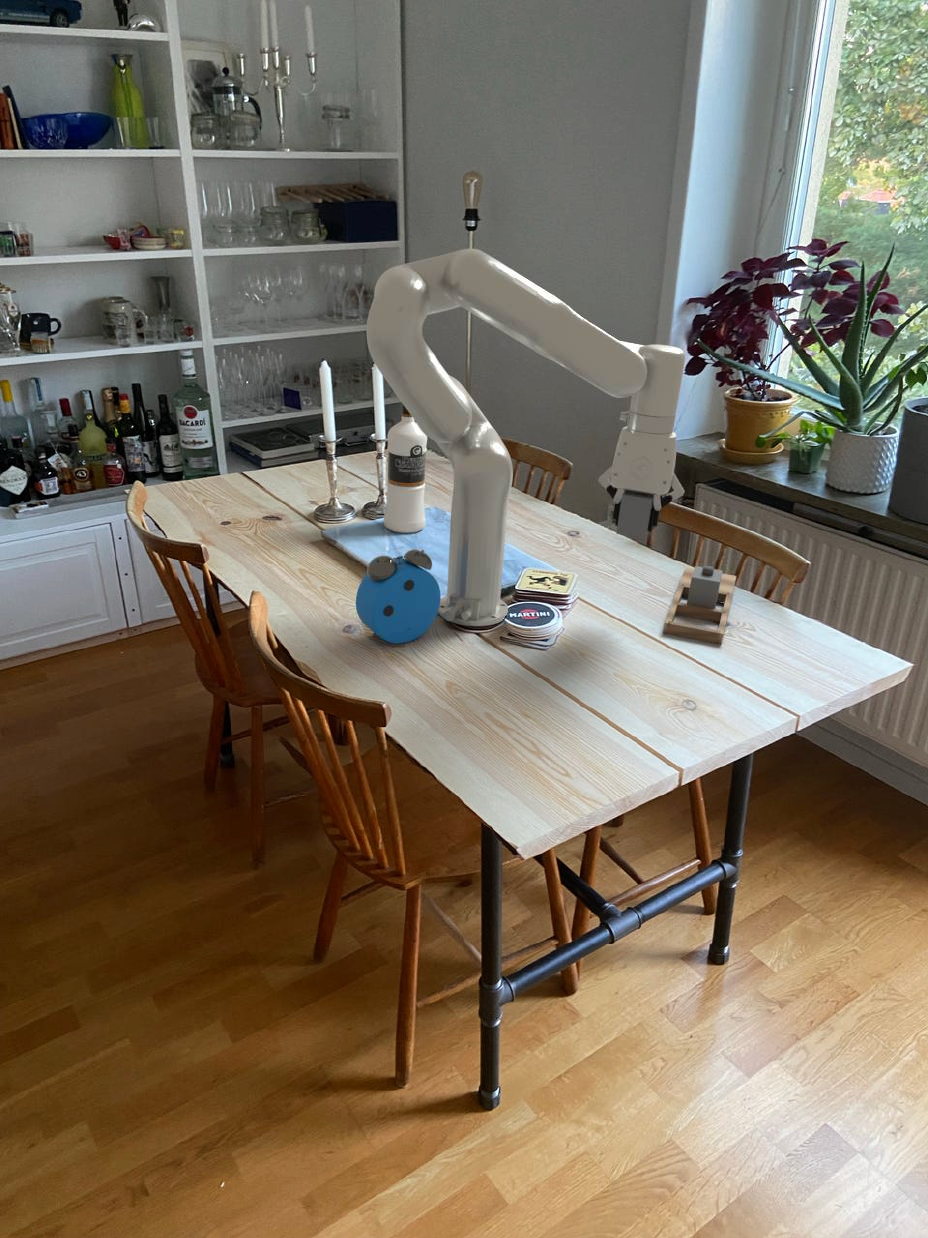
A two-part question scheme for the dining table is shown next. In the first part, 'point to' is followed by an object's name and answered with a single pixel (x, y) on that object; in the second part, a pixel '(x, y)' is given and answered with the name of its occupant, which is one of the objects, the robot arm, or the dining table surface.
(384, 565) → the alarm clock
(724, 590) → the wooden crate frame
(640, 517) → the plug
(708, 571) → the grey knobbed block
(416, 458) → the vodka
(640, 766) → the dining table surface
